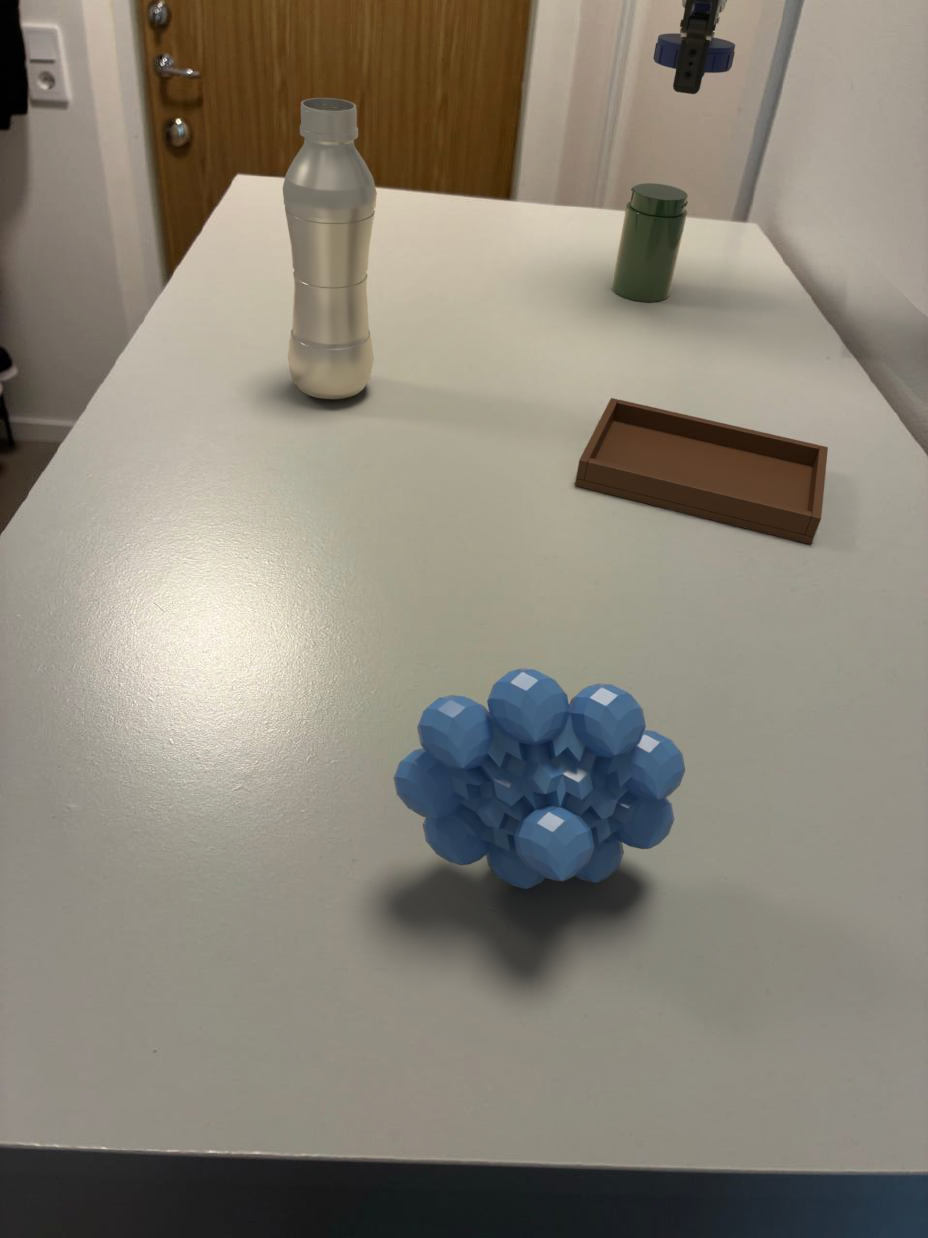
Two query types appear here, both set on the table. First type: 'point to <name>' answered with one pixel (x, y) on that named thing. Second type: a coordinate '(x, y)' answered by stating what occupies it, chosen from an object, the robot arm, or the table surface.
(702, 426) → the serving tray
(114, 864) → the table surface
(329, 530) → the table surface
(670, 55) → the jar lid
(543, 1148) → the table surface
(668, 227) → the jam jar
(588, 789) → the blue ball cluster
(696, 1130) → the table surface
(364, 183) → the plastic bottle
